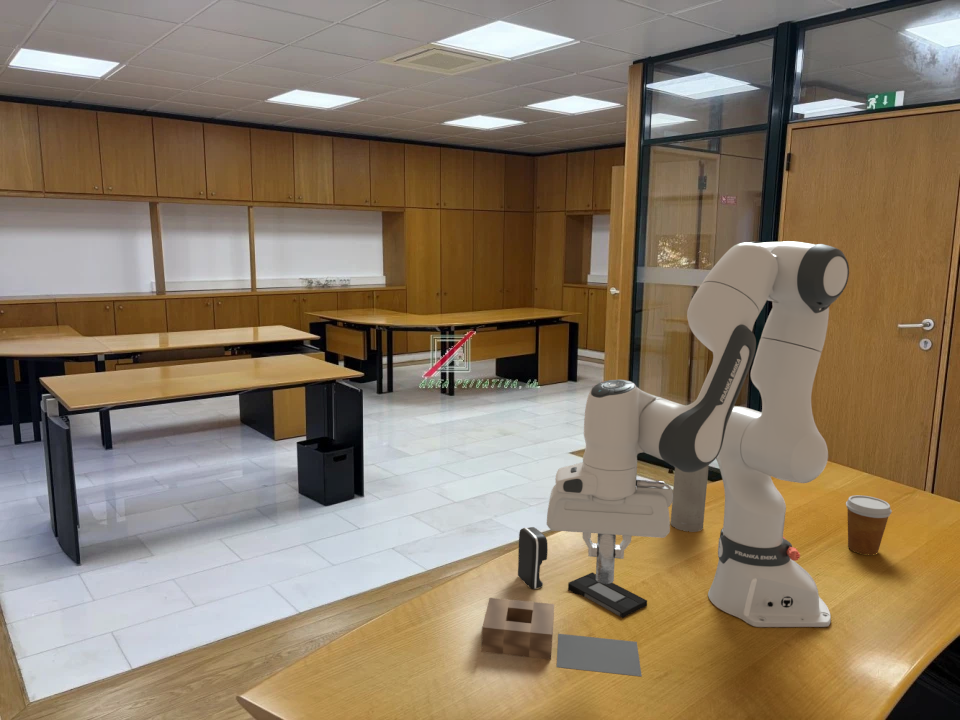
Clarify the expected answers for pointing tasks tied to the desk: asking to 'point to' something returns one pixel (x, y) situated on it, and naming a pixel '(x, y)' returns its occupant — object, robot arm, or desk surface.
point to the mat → (598, 655)
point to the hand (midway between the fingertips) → (605, 556)
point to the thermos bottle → (689, 499)
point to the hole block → (518, 628)
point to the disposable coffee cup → (866, 523)
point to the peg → (605, 558)
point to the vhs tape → (607, 595)
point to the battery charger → (531, 556)
